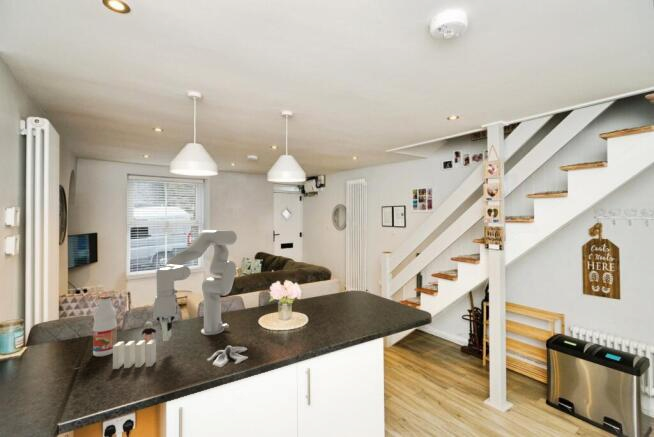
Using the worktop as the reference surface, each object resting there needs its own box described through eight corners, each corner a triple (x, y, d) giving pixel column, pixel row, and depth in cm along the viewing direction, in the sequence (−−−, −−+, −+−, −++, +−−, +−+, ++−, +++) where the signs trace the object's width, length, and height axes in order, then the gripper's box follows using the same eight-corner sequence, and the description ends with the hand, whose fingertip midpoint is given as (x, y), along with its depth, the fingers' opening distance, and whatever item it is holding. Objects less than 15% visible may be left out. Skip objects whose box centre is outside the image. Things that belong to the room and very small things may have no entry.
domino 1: (124, 363, 137) (124, 341, 137) (118, 368, 132) (118, 345, 132) (119, 363, 137) (119, 341, 137) (112, 368, 132) (113, 346, 132)
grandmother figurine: (139, 348, 152) (139, 323, 152) (140, 346, 156) (140, 321, 156) (157, 345, 156) (157, 321, 156) (157, 343, 159) (157, 319, 159)
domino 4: (156, 361, 139) (156, 339, 139) (151, 366, 134) (151, 343, 134) (150, 361, 139) (151, 339, 139) (146, 366, 134) (146, 344, 134)
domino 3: (145, 361, 138) (145, 340, 138) (140, 367, 133) (140, 344, 133) (140, 362, 138) (140, 340, 138) (135, 367, 133) (135, 344, 133)
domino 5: (171, 334, 151) (169, 316, 149) (168, 340, 146) (165, 322, 144) (167, 334, 151) (164, 317, 148) (163, 341, 146) (160, 322, 144)
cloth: (244, 346, 156) (244, 334, 156) (254, 360, 140) (254, 347, 140) (198, 355, 146) (198, 343, 146) (203, 372, 129) (203, 358, 129)
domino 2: (135, 362, 138) (134, 340, 138) (129, 367, 133) (129, 345, 133) (129, 362, 137) (129, 341, 137) (124, 368, 132) (124, 345, 132)
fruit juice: (121, 350, 151) (121, 294, 151) (101, 358, 142) (101, 299, 142) (108, 347, 154) (108, 292, 154) (88, 354, 145) (88, 297, 146)
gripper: (185, 290, 152) (185, 326, 152) (151, 291, 149) (152, 328, 150) (180, 294, 144) (180, 332, 145) (144, 296, 142) (145, 334, 142)
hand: (166, 330), depth 147 cm, fingers closed on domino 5
